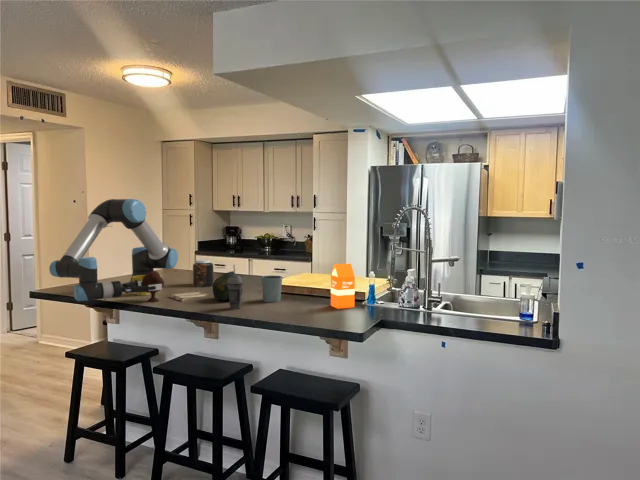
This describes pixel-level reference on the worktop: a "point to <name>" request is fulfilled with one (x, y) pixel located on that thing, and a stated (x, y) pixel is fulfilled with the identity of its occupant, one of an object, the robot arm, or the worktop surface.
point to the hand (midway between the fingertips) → (156, 284)
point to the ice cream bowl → (152, 283)
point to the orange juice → (342, 286)
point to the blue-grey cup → (271, 288)
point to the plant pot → (138, 278)
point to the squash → (222, 287)
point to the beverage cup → (235, 290)
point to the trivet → (190, 296)
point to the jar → (203, 273)
